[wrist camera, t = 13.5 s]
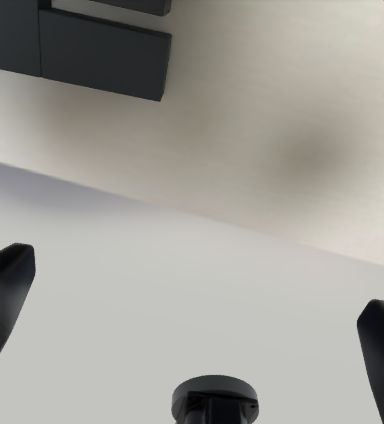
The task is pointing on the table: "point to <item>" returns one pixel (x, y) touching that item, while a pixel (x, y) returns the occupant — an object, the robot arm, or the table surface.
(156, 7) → the black block
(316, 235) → the table surface
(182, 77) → the table surface
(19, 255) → the robot arm
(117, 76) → the base pad
